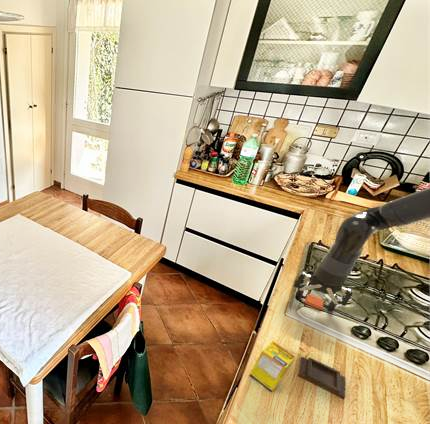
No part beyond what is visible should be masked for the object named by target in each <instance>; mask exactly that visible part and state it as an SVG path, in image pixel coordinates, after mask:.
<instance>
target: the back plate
mask: <svg viewBox="0 0 430 424" xmlns="http://www.w3.org/2000/svg"><path fill="white" fill-rule="evenodd" d="M297 377H299V378H301V379H303V380H305V381H307V382H308V383H311V384H312V385H314V386H316V387H318V388H320V389H323V390H325V391H326V392H328V393H330V394H333V395H334V396H336V397H338V398H340V399H342V400H344V399H345V398H346V377H345V376H343V375H342V374H341V371H339V370H337V369H335V368H333V367H330V366H329V365H327V364H325V363H322V362H321V361H318V360H316V359H314V358H312V357H308V358H306V357H304V356H300V358H299V364H298V371H297Z"/></svg>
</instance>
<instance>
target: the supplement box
mask: <svg viewBox="0 0 430 424" xmlns="http://www.w3.org/2000/svg"><path fill="white" fill-rule="evenodd" d="M296 358H297V355H295V354H294V353H293V352H291V351H289V350H288V349H286V348H285V347H283V346H282V345H281V344H279V343H278V342H276V341H274V340H272V341H271V342H270V343H269V344H268V345H266V347H264V348H263V350H262V351H261V352H260V354H259V356H258V357H257V360H256V361H255V363H254V365H253V367H252V369H251V370H250V373H249V377H251V378H252V379H253V380H254V381H256V382H257V383H259V384H260V385H261V386H263V387H264V388H265V389H266V390H268V391H269V392H270V393H272V392H273V391H274V390H275V389H276V388H277V387H278V386H279V384H280V383H281V382H282V380H283V379H284V378H285V376H286V374H287V373H288V371H289V370H290V368H291V366H292V365H293V363H294V362H295V360H296Z"/></svg>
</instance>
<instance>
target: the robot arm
mask: <svg viewBox="0 0 430 424" xmlns="http://www.w3.org/2000/svg"><path fill="white" fill-rule="evenodd" d="M428 219H430V187H428V188H425V189H422V190H419V191H416V192H413V193H411V194H407V195H405V196H402V197H399V198H397V199H393V200H391V201H388V202H386V203H383V204H381V205H377V206H373V207H371V208H367V209H364V210H361V211H358V212H356V213H354V214H352V215H350V216H348V217H345V218H344V220H343V221H342V222H341V223H340V225H339V226H338V229H337V231H336V234H335V237H334V240H333V242H332V243H331V245H330V247H329V249H328V250H327V252H326V253H325V254H324V255H323V257H322V258H321V261H320V262H319V263H318V266H317V267H316V269H315V271H314V273H313V274H308V273H306V271H305V270H301V271H300V273H299V274H298V276H297V277H296V279H295V280H294V283H293V287H294V288H296V289H297V291H296V292H295V297H297V299H298V300H300V299H301V297H302V295H303V294H304V291H311V290H314V291H316V292H319V293H321V294H323V295H329V298H330V301H329V303H328V304H327V309H326V310H327V311H328V312H329V311H334V310H335V309H336V307H337V306H338V305H341V306H343V307H345V306H347V305H348V303H349V301H350V300H351V297H352V296H353V288H352V287H344V286H343V285H344V283H345V282H346V280H347V279H348V278H349V275H351V274H352V271H353V269H354V267H355V265H356V263H357V261H358V260H359V258H360V257H361V255H362V253H363V251H364V245H365V244H366V242H367V241H368V240H369V238H371V237H372V236H373V235H374V234H376V233H379V232H381V231H383V230H384V231H385V230H387V229H390V228H393V227H397V228H398V227H404V226H408V225H412V224H415V223H418V222H421V221H425V220H428ZM308 279H309V281H306V282H304V283H302V282H303V281H305V280H308ZM339 292H342V294H343V295H342V297H341V298H339V296H338V295H337V293H339Z"/></svg>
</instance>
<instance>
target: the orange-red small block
mask: <svg viewBox="0 0 430 424" xmlns="http://www.w3.org/2000/svg"><path fill="white" fill-rule="evenodd" d="M304 304H305V305H308V306H310V307H312V308H315V309H316V310H319V311H322V310H323V308H324V299H323V298H320V297H317V296H314V295H312V294H310V293H307V294H306V295H305V299H304Z"/></svg>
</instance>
